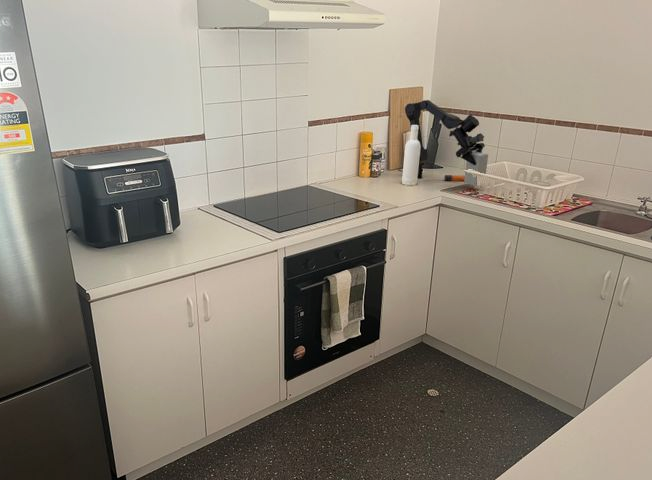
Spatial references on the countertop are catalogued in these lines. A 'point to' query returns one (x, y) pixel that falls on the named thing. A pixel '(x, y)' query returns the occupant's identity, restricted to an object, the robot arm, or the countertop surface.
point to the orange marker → (454, 178)
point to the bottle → (411, 158)
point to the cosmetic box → (476, 167)
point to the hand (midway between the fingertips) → (479, 163)
